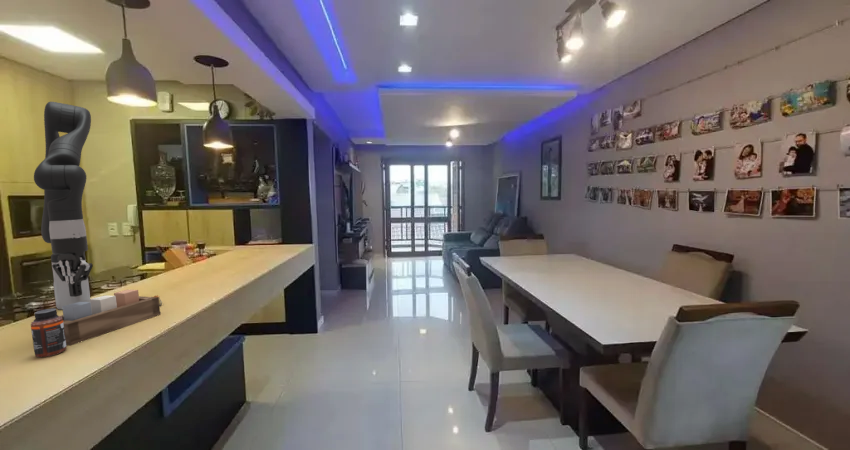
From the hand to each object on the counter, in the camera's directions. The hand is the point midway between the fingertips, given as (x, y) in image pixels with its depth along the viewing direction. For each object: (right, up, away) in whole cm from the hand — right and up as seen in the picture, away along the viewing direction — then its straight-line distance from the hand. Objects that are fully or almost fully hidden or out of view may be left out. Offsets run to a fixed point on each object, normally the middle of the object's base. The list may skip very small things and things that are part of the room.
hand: (76, 295), depth 110 cm
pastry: (+1, -10, +28) cm, 29 cm away
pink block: (+4, -6, +14) cm, 16 cm away
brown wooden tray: (+2, -11, +8) cm, 14 cm away
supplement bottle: (+4, -13, -11) cm, 18 cm away
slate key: (0, -8, +1) cm, 8 cm away
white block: (+2, -7, +7) cm, 10 cm away
